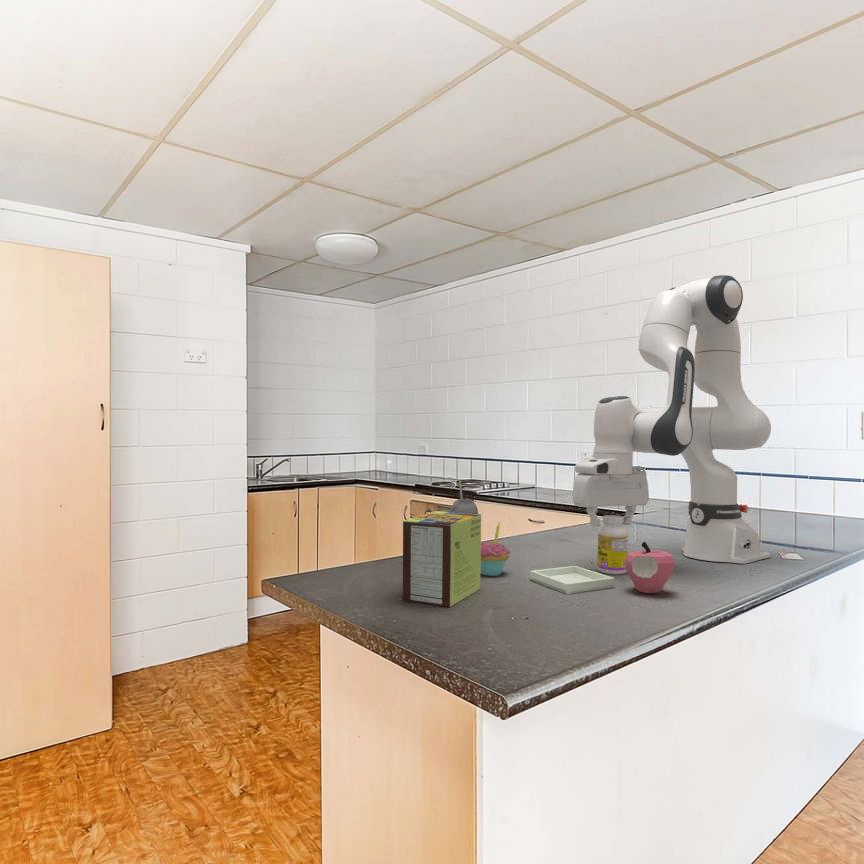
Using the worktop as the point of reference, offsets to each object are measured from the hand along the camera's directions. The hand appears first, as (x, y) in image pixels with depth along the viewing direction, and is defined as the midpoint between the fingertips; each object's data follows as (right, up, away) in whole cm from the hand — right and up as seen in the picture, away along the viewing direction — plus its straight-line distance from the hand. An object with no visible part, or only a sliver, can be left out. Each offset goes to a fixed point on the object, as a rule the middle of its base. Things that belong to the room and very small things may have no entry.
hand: (611, 525), depth 147 cm
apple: (+3, -11, -17) cm, 21 cm away
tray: (-12, -11, -11) cm, 19 cm away
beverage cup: (-34, -10, +10) cm, 37 cm away
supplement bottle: (0, -11, 0) cm, 11 cm away
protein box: (-39, -11, -21) cm, 46 cm away
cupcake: (-28, -11, -3) cm, 30 cm away
